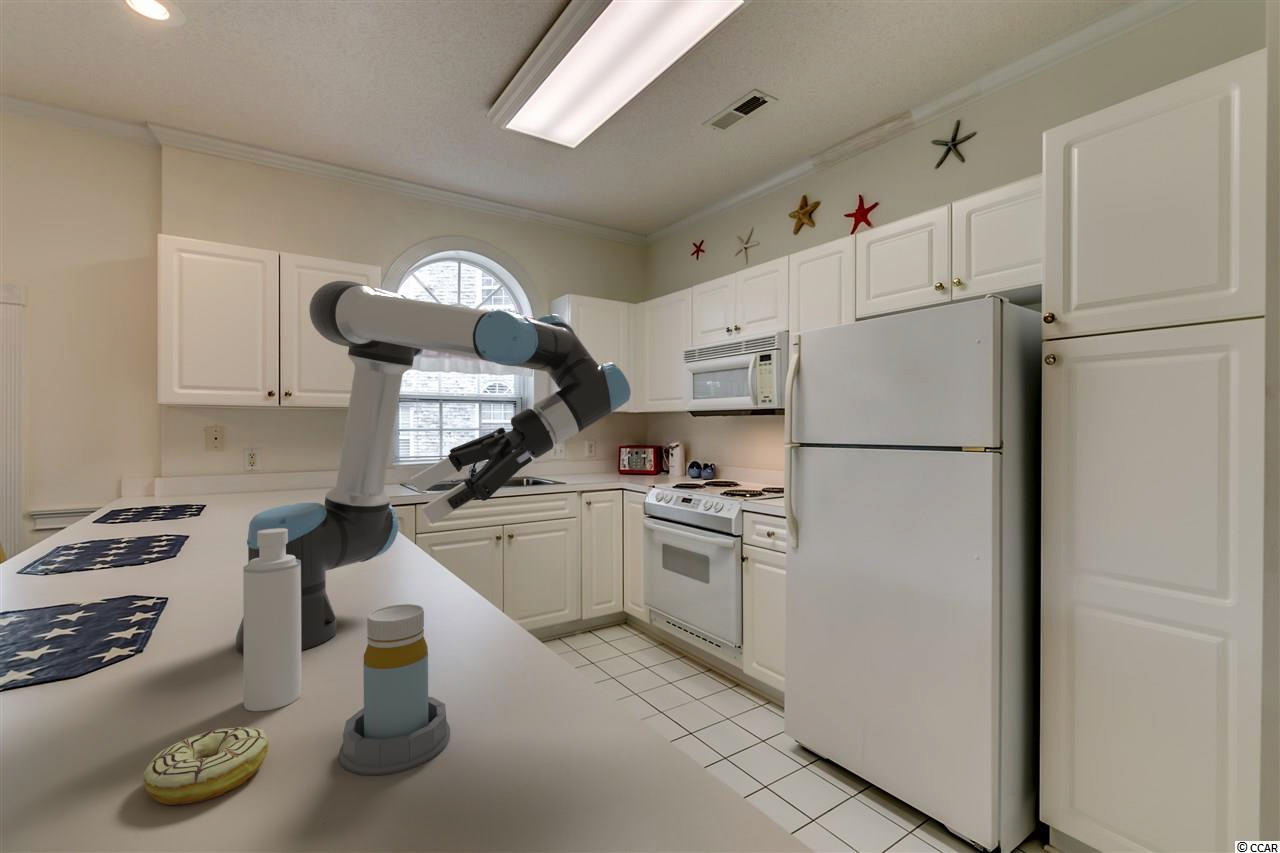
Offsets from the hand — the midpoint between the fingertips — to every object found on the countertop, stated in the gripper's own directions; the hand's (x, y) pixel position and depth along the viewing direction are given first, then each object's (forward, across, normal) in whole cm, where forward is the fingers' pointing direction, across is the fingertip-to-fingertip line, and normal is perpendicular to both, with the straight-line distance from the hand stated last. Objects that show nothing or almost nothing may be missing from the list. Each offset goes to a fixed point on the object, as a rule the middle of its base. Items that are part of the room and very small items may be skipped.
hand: (420, 500), depth 84 cm
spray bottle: (+30, -2, -14) cm, 33 cm away
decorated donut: (+32, -19, -8) cm, 38 cm away
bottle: (+15, -22, -16) cm, 31 cm away
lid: (+16, -22, -17) cm, 32 cm away
